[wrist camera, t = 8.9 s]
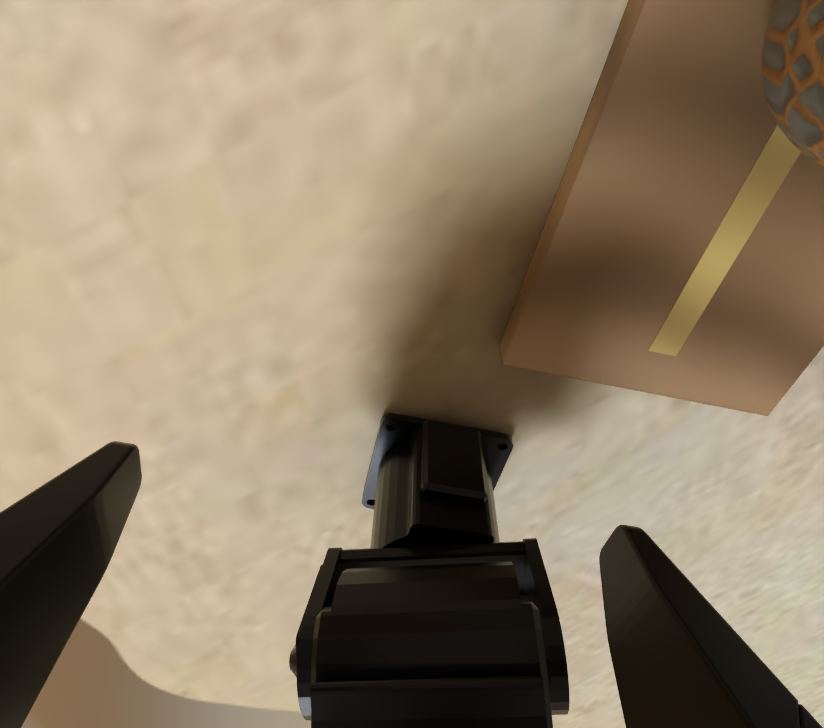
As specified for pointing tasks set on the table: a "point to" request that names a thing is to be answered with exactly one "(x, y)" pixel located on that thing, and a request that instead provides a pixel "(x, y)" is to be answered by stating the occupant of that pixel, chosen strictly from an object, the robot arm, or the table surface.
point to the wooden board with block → (680, 223)
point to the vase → (796, 73)
